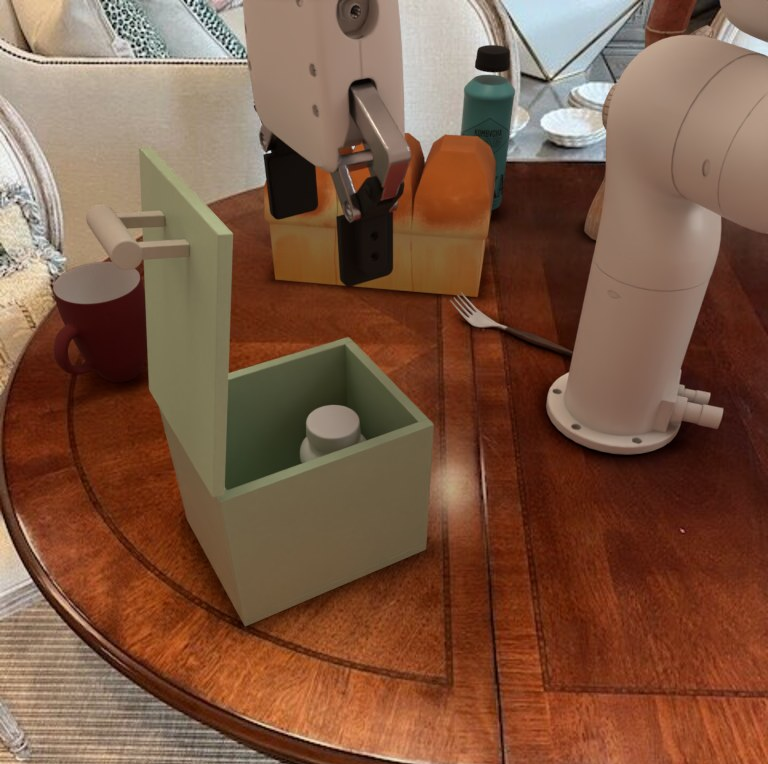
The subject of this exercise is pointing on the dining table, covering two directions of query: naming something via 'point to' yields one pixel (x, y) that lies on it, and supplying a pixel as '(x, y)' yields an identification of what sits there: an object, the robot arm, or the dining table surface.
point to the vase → (662, 23)
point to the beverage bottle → (490, 109)
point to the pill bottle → (330, 432)
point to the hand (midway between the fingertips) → (328, 244)
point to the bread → (403, 222)
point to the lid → (180, 306)
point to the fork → (505, 327)
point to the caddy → (309, 481)
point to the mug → (102, 320)
